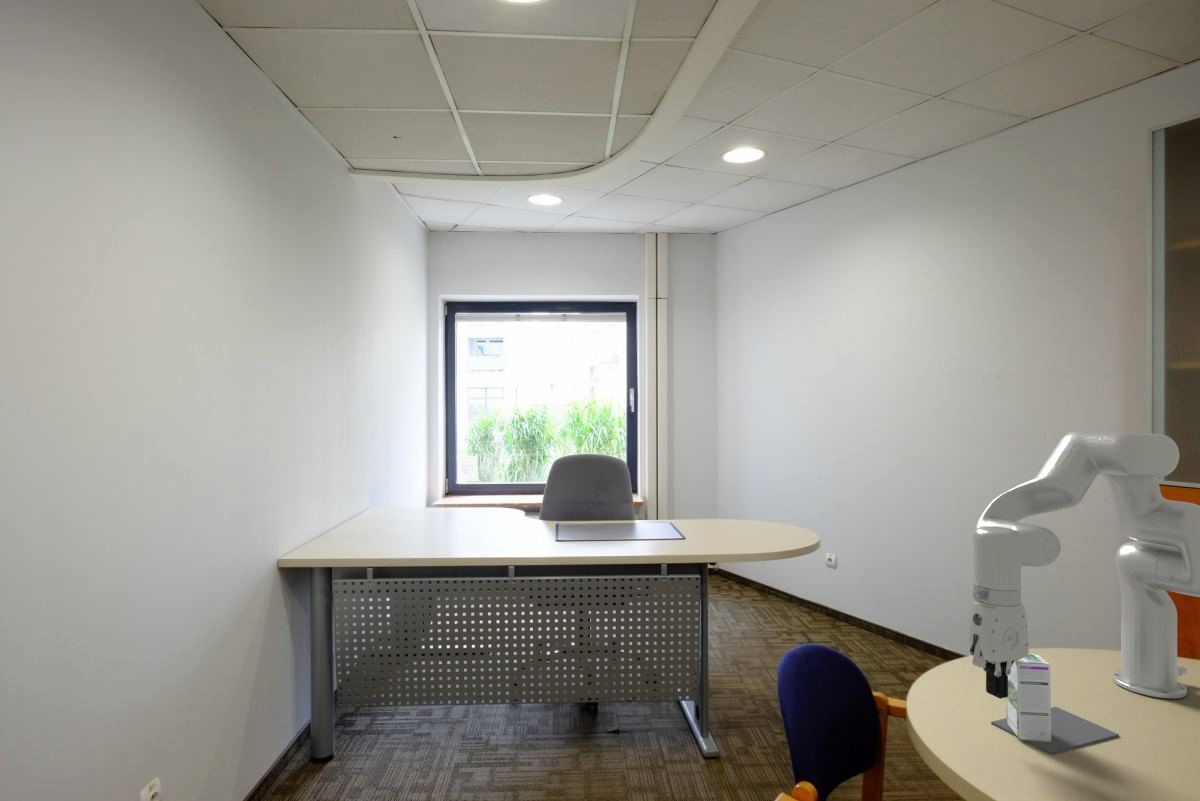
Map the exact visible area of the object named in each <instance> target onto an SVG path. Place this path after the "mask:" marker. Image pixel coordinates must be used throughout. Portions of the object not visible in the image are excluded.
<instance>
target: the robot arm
mask: <svg viewBox="0 0 1200 801" xmlns="http://www.w3.org/2000/svg"><path fill="white" fill-rule="evenodd" d="M1179 460H1180V450H1179V447H1178V445H1177V443H1176V442H1175V441H1174V439H1172V438H1171V437H1169V435H1166V434H1163V433H1162V434H1161V433H1144V432H1143V433H1141V432H1140V433H1139V432H1127V431H1114V430H1113V431H1107V430H1090V429H1089V430H1087V429H1086V430H1082V429H1081V430H1075V431H1073V430H1072V431H1070V432H1068V433H1066V434H1065V435H1064V436H1062V437H1061V438H1060V439H1059V441H1058V443H1057V444H1056V446H1055V447H1054V448H1053V450H1052V452H1051V453H1050V455H1049V457H1047V459H1046V461H1044V464H1043V465H1042V466H1041V468H1040V469H1039V471H1038V472H1037V474H1036V476H1035V477H1034V478H1032V479H1029V480H1028V481H1025V482H1022V483H1020V484H1018V485H1016V486H1015V487H1012V488H1011V489H1009V490H1006V491H1005V492H1002V493H1001V494H999V495H998V496H997V497H995V498H994V499H993V500H992V501H991V502H990V503H989V504H988V506H987V507H986V508H985V509H984V511H983V512H982V514H981V515H980V517H979V519H978V521H977V522H976V525H975V527H974V530H973V533H972V534H973V535H972V537H973V538H972V542H973V543H972V544H973V548H972V550H973V551H972V552H973V555H972V556H973V558H972V559H973V566H972V567H973V571H972V572H973V575H972V576H973V577H972V578H973V580H972V581H973V591H972V592H973V593H972V597H973V598H972V599H973V601H972V603H971V608H970V609H971V610H970V615H969V622H968V624H969V625H968V651H969V654H971V655H972V656H973V658H972V662H971V663H972V665H973V666H975V667H978V668H981V669H983V671H984V672H985V691H986V693H988V694H989V695H991V696H994V697H996V698H998V699H1000V700H1001V699H1004V698H1006V697H1008V676H1007V675H1010V673H1011V666H1012V665H1013V663H1014V662H1016V661H1018V660H1020V659H1022V658H1024V657H1026V656H1027V655H1028V652H1029V630H1028V622H1027V615H1026V609H1025V606H1024V603H1022V587H1021V586H1022V567H1030V568H1031V567H1032V568H1033V567H1034V568H1042V567H1046V566H1049V565H1051V564H1053V563H1054V562H1055V561H1056V560H1057V559H1058V558H1059V556H1060V553H1061V549H1062V548H1061V545H1062V544H1061V541H1060V539H1059V537H1058V536H1057V534H1056V533H1055V532H1054V531H1053V530H1051V529H1049V528H1047V527H1044V526H1040V525H1035V524H1030V523H1023V522H1019V521H1020V520H1023V519H1025V518H1028V517H1031V516H1035V515H1040V514H1046V513H1053V512H1058V511H1062V510H1068V509H1071V508H1074V507H1075V506H1078V505H1079V504H1080V502H1081V501H1082V500H1083V499H1084V496H1085V495H1086V494H1087V492H1088V490H1089V488H1090V487H1091V486H1092V484H1093V483H1094V480H1095V479H1096V478H1097V477H1098V475H1102V477H1104V478H1105V480H1106V482H1107V484H1108V488H1109V492H1110V497H1111V502H1112V506H1113V512H1114V516H1115V517H1114V518H1115V521H1116V525H1117V528H1118V530H1119V532H1120V534H1121V535H1123V536H1124V537H1125V538H1127V539H1129V540H1134V541H1128V542H1125V543H1122V544H1121V545H1120V546H1119V547H1118V548H1117V551H1116V552H1115V567H1116V571H1117V576H1118V581H1119V585H1120V586H1119V588H1120V603H1121V604H1120V605H1121V606H1120V607H1121V608H1120V609H1121V611H1120V612H1121V613H1120V619H1121V620H1120V639H1121V641H1120V646H1121V649H1120V654H1121V656H1120V657H1121V658H1120V661H1121V663H1120V666H1121V667H1120V670H1116V671H1114V672H1112V681H1113V682H1114V683H1115V684H1117V685H1118V686H1120V687H1122V688H1124V689H1125V690H1128V691H1130V692H1134V693H1137V694H1139V695H1145V696H1148V697H1151V698H1152V697H1153V698H1154V697H1155V698H1159V699H1169V700H1170V699H1171V700H1173V699H1182V698H1184V697H1186V696H1187V693H1188V690H1187V687H1186V686H1185V685H1184V684H1183V683H1180V682H1179V681H1178V678H1179V676H1182V675H1186V674H1187V673H1188V670H1187V668H1186V667H1185V666H1184V665H1182V664H1179V665H1178V611H1177V608H1176V605H1175V603H1174V601H1173V600H1172V598H1171V596H1170V595H1169V594H1168V592H1172V593H1177V594H1180V595H1186V596H1192V597H1196V598H1197V597H1198V598H1200V504H1196V503H1194V502H1187V501H1181V500H1171V499H1167V498H1165V497H1164V496H1163V495H1162V492H1161V487H1160V483H1159V479H1158V478H1159V477H1160V478H1162V477H1166V476H1168V475H1170V474H1171V473H1172V472H1173V471H1175V469H1176V467H1177V466H1178V464H1179Z"/></svg>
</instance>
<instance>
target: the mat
mask: <svg viewBox="0 0 1200 801" xmlns="http://www.w3.org/2000/svg"><path fill="white" fill-rule="evenodd" d="M990 724H991V725H993V726H994V727H996V728H999V730H1000V729H1001V730H1002V731H1005V732H1007V733H1009V734H1010V735H1012V736H1014V737H1017V736H1016V735H1015V734H1014V733H1013V731H1012V730H1011V729H1010V728H1009V727H1008V726H1007V717H1006V718H1005V717H1004V718H1002V719H997V720H992V721H991V722H990ZM1118 737H1120V734H1119V733H1116V732H1115V731H1112V730H1109V729H1108V728H1105V727H1103V726H1101V725H1099V724H1097V723H1094V722H1092V721H1090V720H1087V719H1085V718H1083V717H1081V716H1079V715H1076V714H1073V713H1071V712H1069V711H1067V710H1065V709H1062V708H1060V707H1058V706H1051V742H1044V741H1031V740H1023V739H1021V740H1022V741H1024V742H1026V743H1028V744H1030V745H1032V746H1035V747H1036V748H1038V749H1039V750H1042V751H1044V752H1046V753H1048V754H1050V755H1055V754H1058V753H1062V752H1067V751H1069V750H1073V749H1077V748H1080V747H1085V746H1088V745H1092V744H1095V743H1099V742H1102V741H1107V740H1110V739H1115V738H1118ZM1017 738H1018V737H1017Z"/></svg>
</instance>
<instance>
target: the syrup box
mask: <svg viewBox="0 0 1200 801" xmlns="http://www.w3.org/2000/svg"><path fill="white" fill-rule="evenodd" d="M1007 676H1008V697H1006V701H1005V702H1006V718H1007V726H1008V727H1009V728H1010V729H1011V730H1012V731H1013V733H1014V734H1015V735H1016V736H1017V739H1018V740H1022V739H1023V740H1022V741H1024V740H1031V741H1044V742H1051V708H1052V700H1051V698H1052V697H1051V696H1052V695H1051V693H1052V691H1051V664H1050V663H1049V662H1047V661H1046V660H1045V659H1044V658H1043V657H1041V656H1040V655H1039V654H1038V653H1036V652H1030V651H1028V655H1027V656H1026V657H1024V658H1022V659H1020V660H1018V661H1016V662H1014V663H1013V665H1012V666H1011V673H1010V675H1007ZM1016 736H1015V737H1016Z"/></svg>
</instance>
